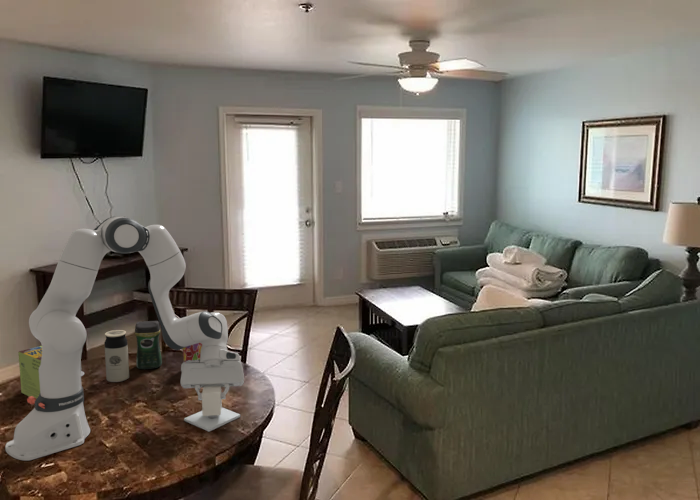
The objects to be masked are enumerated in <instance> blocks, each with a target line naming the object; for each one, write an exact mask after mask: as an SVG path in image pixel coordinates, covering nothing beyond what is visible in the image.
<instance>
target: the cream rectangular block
mask: <svg viewBox="0 0 700 500" xmlns="http://www.w3.org/2000/svg"><path fill="white" fill-rule="evenodd" d="M221 392H222V387H221V386H207V387H203V388H202V392H201V393H202V400H201V406H202V407H201V408H202V409H201V411H202V415H203V416H212V415H221V409H222V407H223V404H222V403H223V402H222V401H223V399H221Z"/></svg>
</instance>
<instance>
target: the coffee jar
mask: <svg viewBox="0 0 700 500" xmlns="http://www.w3.org/2000/svg"><path fill="white" fill-rule="evenodd" d="M160 334H161V325H160V323H159V320H149V321H148V320H147V321H137V322H136V324H135V327H134V336H135V338H136V368H137V369H139V370H149V369H150V370H151V369H157V368H159V367H161V366H162V364H163V360H162V359H163V357H162V352H161V347H160V345H161V344H160Z"/></svg>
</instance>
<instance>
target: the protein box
mask: <svg viewBox="0 0 700 500" xmlns="http://www.w3.org/2000/svg"><path fill="white" fill-rule="evenodd" d="M41 359H42V345H40V346H35V347H30V348H27V349H23V350H19V351H18V363H19V364H18V365H19V378H20V390H21V391H20V392H21V394H24V395H25V396H27V397H28V398H29V397H30V396H33V397H34V398H36V399H37V398H38V396H39V394H40V382H39V367H40V365H41Z"/></svg>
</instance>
